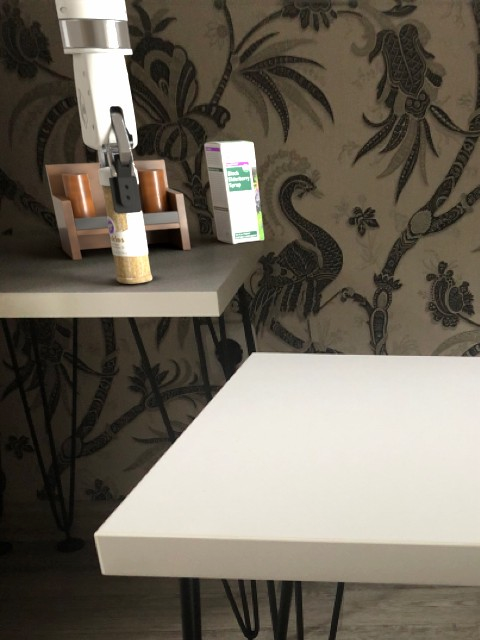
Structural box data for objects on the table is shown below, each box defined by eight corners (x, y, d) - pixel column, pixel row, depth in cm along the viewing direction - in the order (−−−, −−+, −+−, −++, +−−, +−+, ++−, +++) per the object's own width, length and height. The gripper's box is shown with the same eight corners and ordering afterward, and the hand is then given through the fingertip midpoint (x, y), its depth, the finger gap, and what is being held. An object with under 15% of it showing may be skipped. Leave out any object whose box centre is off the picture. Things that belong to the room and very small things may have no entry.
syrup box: (233, 244, 145) (221, 142, 138) (216, 240, 149) (203, 141, 142) (265, 240, 148) (254, 140, 141) (247, 236, 152) (236, 139, 145)
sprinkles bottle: (109, 282, 118) (89, 167, 112) (138, 276, 122) (120, 165, 115) (132, 286, 116) (113, 169, 109) (160, 280, 119) (144, 167, 113)
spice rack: (73, 260, 134) (55, 170, 128) (62, 250, 142) (45, 165, 136) (191, 249, 141) (178, 164, 135) (174, 240, 149) (162, 159, 143)
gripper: (51, 41, 110) (81, 204, 119) (74, 37, 97) (105, 220, 107) (115, 42, 113) (139, 201, 123) (146, 38, 101) (170, 216, 110)
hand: (123, 208), depth 115 cm, fingers closed on sprinkles bottle, 4 cm apart
